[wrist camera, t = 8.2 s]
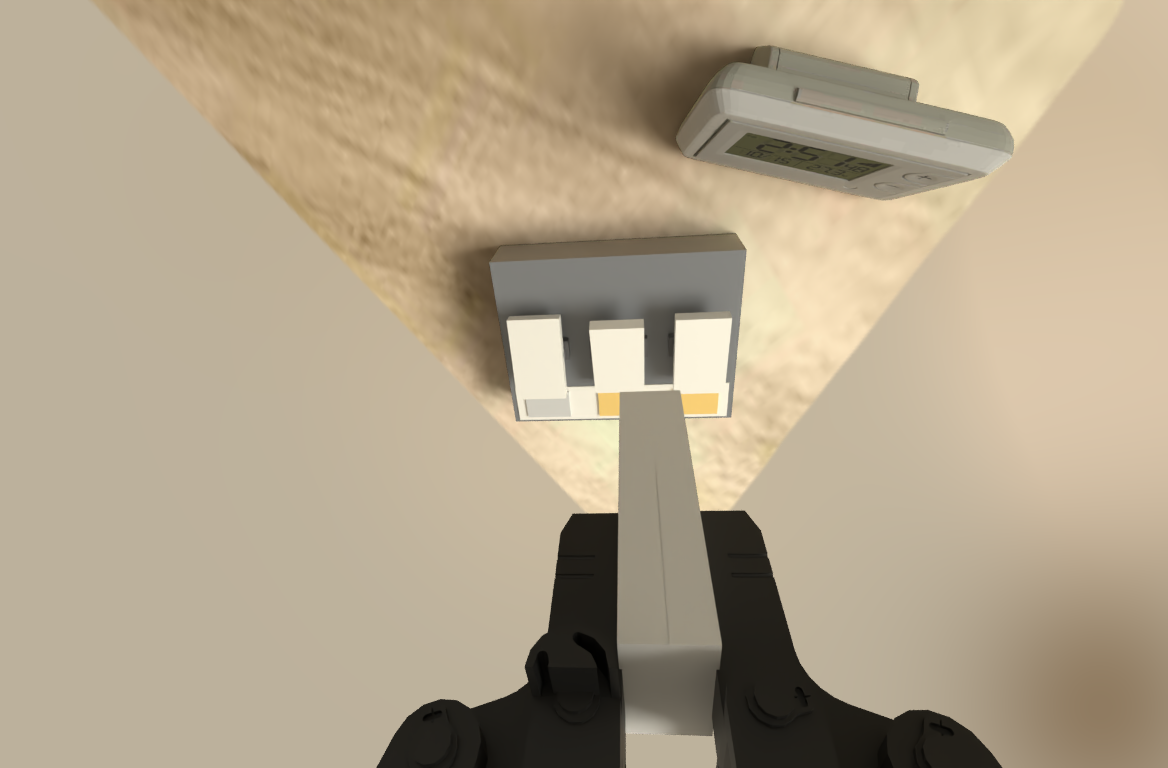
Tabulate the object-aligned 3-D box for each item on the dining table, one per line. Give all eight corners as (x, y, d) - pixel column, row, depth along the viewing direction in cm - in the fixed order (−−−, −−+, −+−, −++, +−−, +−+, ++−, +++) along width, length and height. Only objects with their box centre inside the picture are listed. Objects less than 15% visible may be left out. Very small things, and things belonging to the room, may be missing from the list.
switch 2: (589, 315, 37) (589, 329, 36) (643, 313, 37) (644, 328, 36) (596, 378, 42) (595, 393, 41) (643, 377, 42) (644, 391, 40)
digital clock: (660, 143, 36) (672, 169, 27) (728, -7, 32) (769, -35, 23) (857, 235, 39) (928, 289, 30) (947, 109, 34) (1063, 126, 25)
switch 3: (674, 309, 37) (675, 320, 36) (728, 307, 37) (732, 318, 36) (672, 381, 41) (673, 394, 40) (721, 380, 41) (724, 392, 39)
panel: (500, 245, 41) (487, 265, 37) (735, 233, 39) (748, 252, 35) (523, 395, 48) (515, 425, 44) (723, 391, 46) (732, 421, 42)
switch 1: (510, 313, 39) (506, 320, 38) (561, 311, 39) (558, 318, 37) (521, 390, 42) (517, 399, 40) (567, 389, 41) (565, 398, 40)
